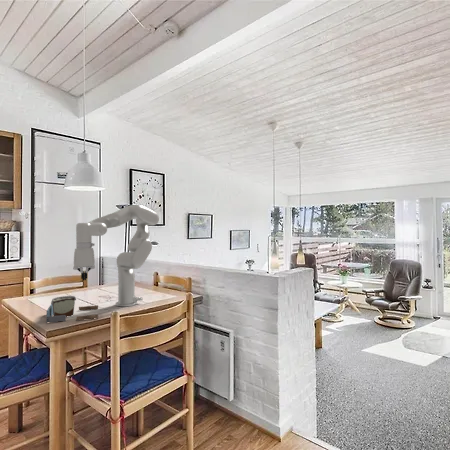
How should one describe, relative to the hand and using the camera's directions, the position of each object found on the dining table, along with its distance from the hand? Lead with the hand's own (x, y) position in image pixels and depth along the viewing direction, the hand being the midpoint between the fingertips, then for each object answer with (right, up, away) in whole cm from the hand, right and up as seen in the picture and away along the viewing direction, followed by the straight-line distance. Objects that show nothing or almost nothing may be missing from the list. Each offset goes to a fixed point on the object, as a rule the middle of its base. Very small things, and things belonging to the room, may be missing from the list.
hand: (84, 280), depth 173 cm
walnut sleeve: (+2, -19, 0) cm, 19 cm away
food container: (-10, -19, -4) cm, 22 cm away
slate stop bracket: (-11, -19, -5) cm, 22 cm away
